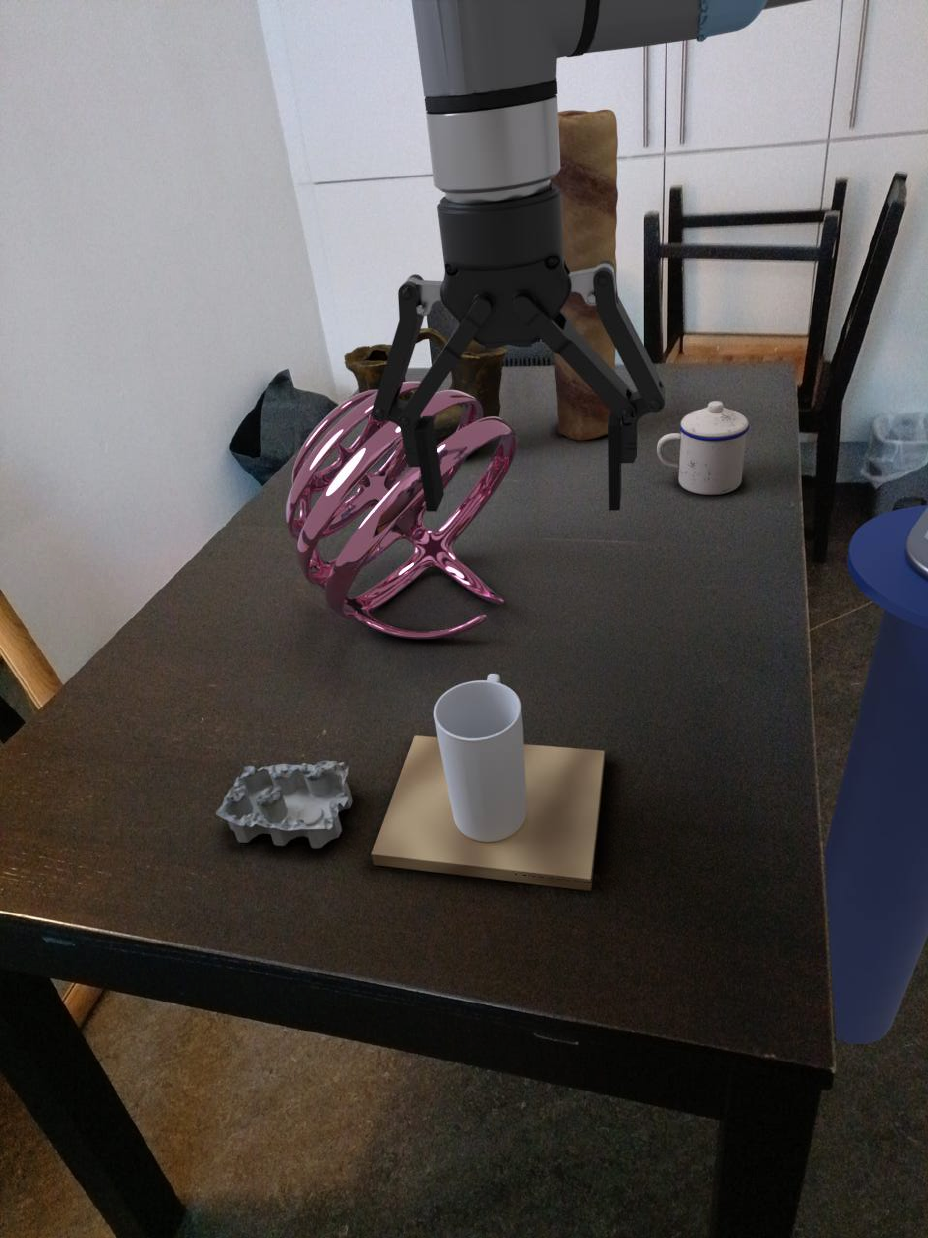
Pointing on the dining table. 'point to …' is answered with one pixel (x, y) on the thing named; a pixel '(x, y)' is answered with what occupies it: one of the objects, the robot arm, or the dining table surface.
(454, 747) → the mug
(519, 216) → the robot arm
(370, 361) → the pottery vessel
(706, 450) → the teacup with lid
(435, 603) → the dining table surface
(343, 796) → the egg carton
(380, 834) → the board
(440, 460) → the spiral basket
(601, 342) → the wafer roll
